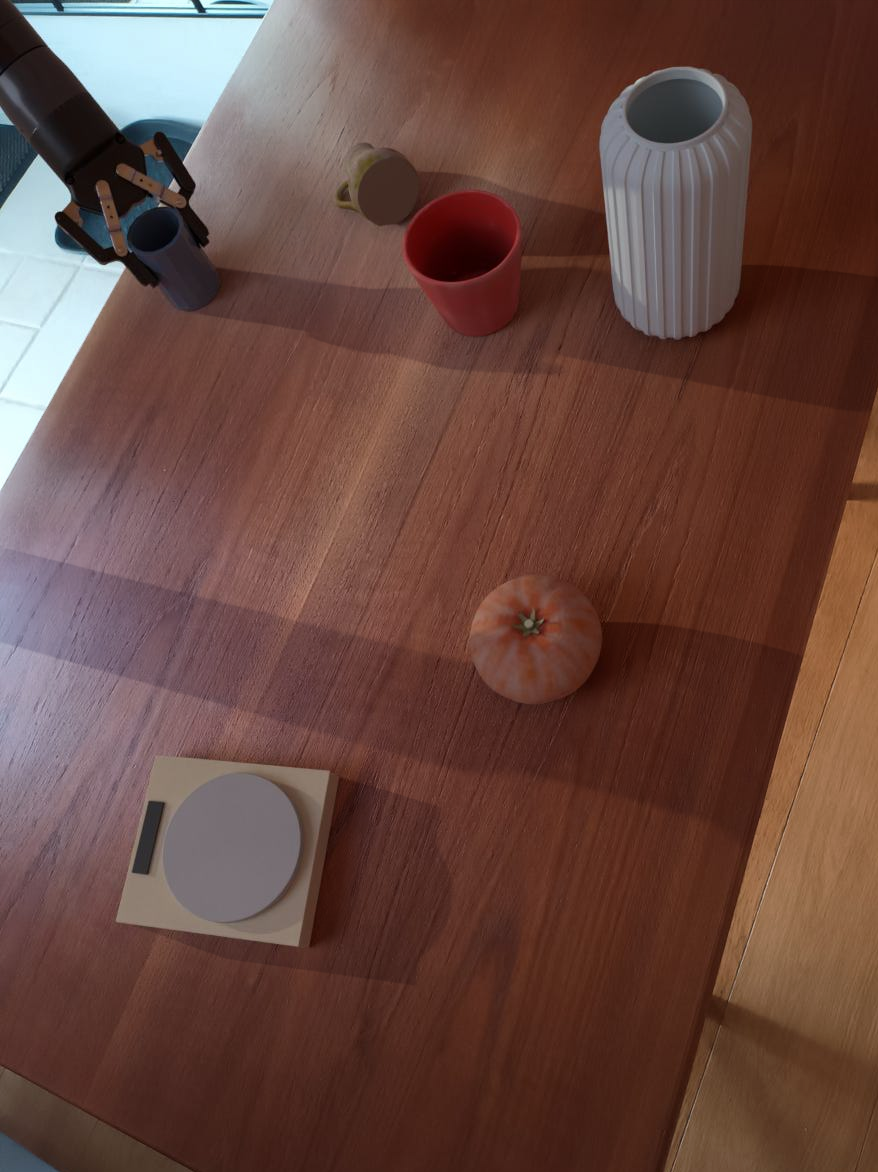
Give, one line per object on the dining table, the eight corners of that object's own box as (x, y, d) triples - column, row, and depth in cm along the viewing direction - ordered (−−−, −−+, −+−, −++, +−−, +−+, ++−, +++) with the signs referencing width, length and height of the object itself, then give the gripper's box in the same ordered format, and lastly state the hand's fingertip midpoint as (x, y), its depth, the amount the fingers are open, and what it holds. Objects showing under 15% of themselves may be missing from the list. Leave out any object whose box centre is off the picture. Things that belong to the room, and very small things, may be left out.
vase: (757, 326, 91) (779, 129, 70) (639, 370, 92) (626, 188, 71) (711, 236, 95) (719, 26, 75) (598, 279, 96) (576, 82, 76)
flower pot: (516, 359, 95) (499, 291, 86) (412, 341, 98) (385, 274, 89) (549, 270, 98) (536, 195, 89) (447, 255, 101) (424, 182, 92)
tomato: (617, 700, 81) (611, 670, 74) (490, 728, 82) (471, 700, 75) (590, 583, 85) (582, 543, 78) (469, 611, 86) (450, 574, 79)
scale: (130, 924, 83) (110, 921, 80) (168, 760, 87) (150, 752, 84) (309, 948, 79) (294, 946, 76) (339, 776, 84) (327, 768, 81)
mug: (384, 150, 108) (397, 99, 98) (416, 235, 108) (433, 193, 98) (319, 168, 106) (327, 118, 96) (353, 254, 106) (363, 213, 97)
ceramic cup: (162, 311, 105) (120, 256, 98) (174, 265, 107) (134, 207, 99) (213, 310, 104) (175, 254, 96) (225, 264, 106) (188, 205, 98)
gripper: (-7, 153, 90) (127, 307, 96) (114, 56, 91) (239, 214, 98) (2, 170, 97) (127, 313, 103) (115, 80, 98) (231, 226, 105)
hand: (181, 264), depth 101 cm, fingers closed on ceramic cup, 6 cm apart
